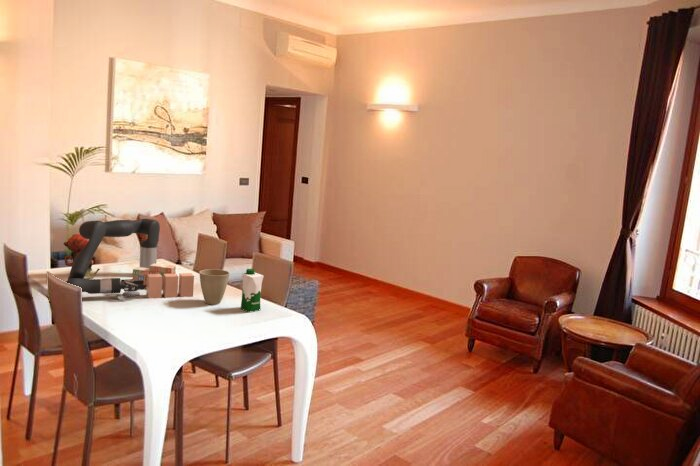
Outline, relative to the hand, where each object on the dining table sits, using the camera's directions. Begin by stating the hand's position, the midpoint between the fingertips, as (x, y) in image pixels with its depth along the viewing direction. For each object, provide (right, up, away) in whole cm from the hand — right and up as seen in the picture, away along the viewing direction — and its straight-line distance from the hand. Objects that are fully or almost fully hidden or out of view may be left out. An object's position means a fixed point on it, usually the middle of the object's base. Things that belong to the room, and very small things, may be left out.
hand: (144, 284), depth 279 cm
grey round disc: (-8, -5, +3) cm, 10 cm away
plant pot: (+34, -10, +2) cm, 35 cm away
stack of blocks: (-3, -3, +22) cm, 22 cm away
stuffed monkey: (-45, +2, +28) cm, 53 cm away
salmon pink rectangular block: (+4, -6, +3) cm, 8 cm away
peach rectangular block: (+17, -6, +11) cm, 22 cm away
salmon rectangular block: (+11, -6, +7) cm, 14 cm away
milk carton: (+54, -12, -3) cm, 56 cm away
